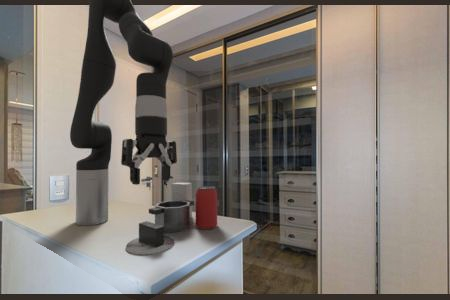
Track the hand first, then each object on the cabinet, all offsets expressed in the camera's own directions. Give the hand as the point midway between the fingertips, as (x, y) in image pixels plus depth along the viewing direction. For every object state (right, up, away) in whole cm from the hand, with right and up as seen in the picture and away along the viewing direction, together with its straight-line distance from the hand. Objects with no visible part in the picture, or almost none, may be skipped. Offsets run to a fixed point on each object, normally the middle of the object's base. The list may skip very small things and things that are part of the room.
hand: (151, 182), depth 56 cm
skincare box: (+3, -16, +24) cm, 29 cm away
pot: (+2, -16, +13) cm, 20 cm away
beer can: (+12, -16, +14) cm, 24 cm away
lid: (0, -16, 0) cm, 16 cm away
